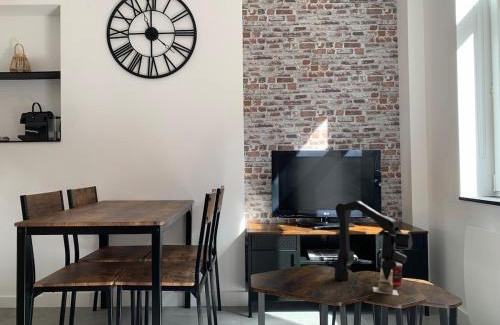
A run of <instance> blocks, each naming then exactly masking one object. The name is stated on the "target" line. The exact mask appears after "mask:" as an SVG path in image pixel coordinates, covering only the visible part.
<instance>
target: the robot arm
mask: <svg viewBox="0 0 500 325" xmlns="http://www.w3.org/2000/svg"><path fill="white" fill-rule="evenodd" d="M356 210H358V211H359V212H361V213H362V214H363V215H365V216H367V217H368V218H370V219H371V220H373V221H374V222H376V223H377V224H378V227H380V228H381V230H380V231H379V232H377V234H378V235H381V236H382V237H381V238H382V240H381V252H380V253H379V254H378V259H379V263H380V266H381V267H380V268H382V269H383V273H384V276H385V279H387V280H388V278H389V275H390V272H391V269H393V268H396V262H397V261H398V262H401V264H405V263H406V261H407V260H408V259H407V258H408V257H407V255H405V254H404V251H402V250H398V251H397V250H396V248H395V247H397V248H402V249H405V250H411V249H412V247H413V238H412V234H410V233H404V232H402V231H401V229H400V227H399V224H398V221H397V220H396V219H394V218H392V217H390V216H386V215H383V214H381V213H380V212H378V211H376V210H375V209H373V208H372V207H370V206H369V205H367V204H365V203H363V202H362V201H361V200H354V201H352V202H348V203H347V202H346V203H345V202H343V203H338V204H337V205H335V214H336V217H337V219H338V222H339V223H338V225H339V226H338V227H339V246H340V247H339V250H338V253H337V259H336V261H335V262H333V263H332V267H333V269H334V277H333V281H338V282H348V280H349V272H350V271H349V269H350V267H351V265H352V264H354V260H355V252H354V251H352V250H351V249H350V248H351V247H350V225H349V224H350V219H351V214H352V211H353V212H354V211H356ZM395 260H397V261H395ZM348 268H349V269H348Z"/></svg>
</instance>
